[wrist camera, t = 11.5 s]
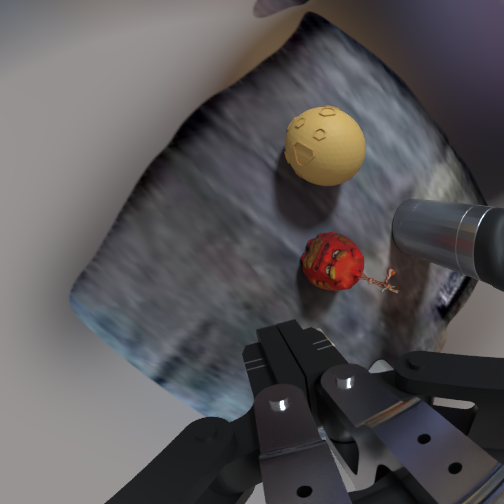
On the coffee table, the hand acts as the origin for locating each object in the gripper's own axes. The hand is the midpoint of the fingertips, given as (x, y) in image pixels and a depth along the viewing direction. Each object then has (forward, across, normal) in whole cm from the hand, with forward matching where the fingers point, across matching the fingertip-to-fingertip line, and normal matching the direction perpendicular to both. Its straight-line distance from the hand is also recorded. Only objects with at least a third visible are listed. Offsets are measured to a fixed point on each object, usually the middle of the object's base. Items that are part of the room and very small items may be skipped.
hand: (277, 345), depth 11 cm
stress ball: (+29, -14, -9) cm, 34 cm away
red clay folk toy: (+29, -13, +6) cm, 33 cm away
